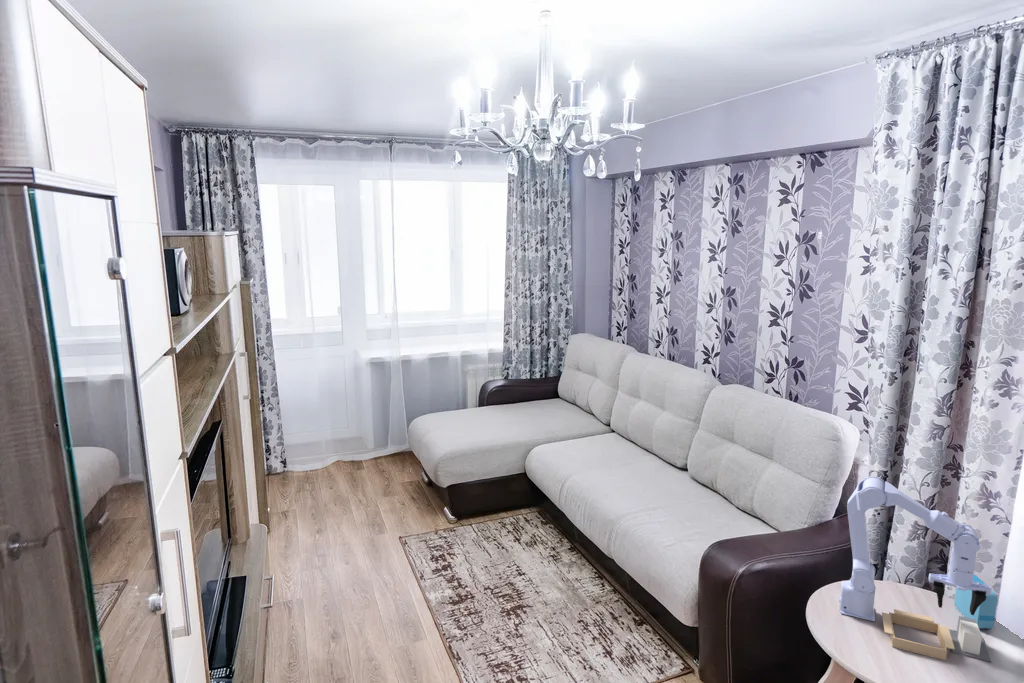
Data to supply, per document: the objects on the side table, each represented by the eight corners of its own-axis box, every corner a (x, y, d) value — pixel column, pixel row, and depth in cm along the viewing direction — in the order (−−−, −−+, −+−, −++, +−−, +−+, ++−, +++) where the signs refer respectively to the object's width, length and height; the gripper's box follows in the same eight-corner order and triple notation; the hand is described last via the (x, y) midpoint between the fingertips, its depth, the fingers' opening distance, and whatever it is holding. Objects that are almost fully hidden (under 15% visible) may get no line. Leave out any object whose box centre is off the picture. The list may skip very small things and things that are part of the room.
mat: (951, 652, 172) (952, 651, 172) (945, 629, 182) (945, 628, 182) (991, 662, 168) (991, 660, 168) (981, 638, 178) (982, 636, 178)
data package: (993, 631, 181) (998, 595, 178) (976, 630, 181) (981, 594, 179) (968, 606, 192) (973, 572, 190) (953, 605, 193) (957, 571, 191)
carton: (884, 644, 176) (885, 634, 175) (880, 615, 189) (881, 606, 188) (954, 662, 168) (955, 651, 168) (944, 630, 181) (946, 620, 181)
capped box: (961, 650, 172) (964, 632, 171) (956, 634, 179) (958, 616, 178) (979, 655, 170) (981, 636, 169) (973, 637, 177) (975, 619, 176)
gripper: (933, 568, 174) (927, 610, 177) (996, 581, 167) (989, 624, 170) (930, 556, 180) (924, 596, 183) (990, 568, 173) (983, 610, 176)
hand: (955, 609), depth 177 cm, fingers open, 7 cm apart
